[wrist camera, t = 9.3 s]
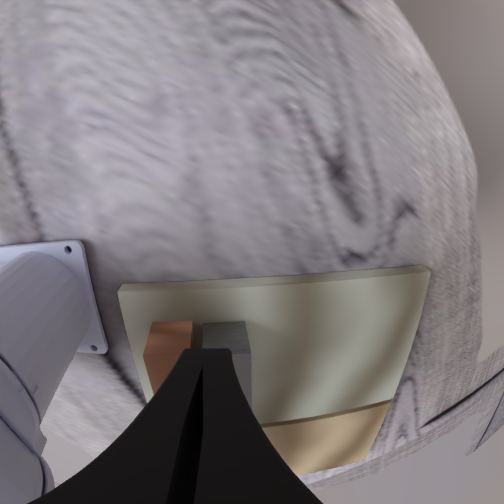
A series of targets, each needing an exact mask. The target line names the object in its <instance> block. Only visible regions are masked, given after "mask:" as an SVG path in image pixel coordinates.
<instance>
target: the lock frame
mask: <svg viewBox="0 0 504 504" xmlns="http://www.w3.org/2000/svg"><path fill="white" fill-rule="evenodd" d="M430 276H431V271H430V270H429V269H427V268H426V267H424V266H423V265H416V266H405V267H394V268H382V269H370V270H358V271H345V272H332V273H319V274H304V275H289V276H274V277H257V278H240V279H221V280H201V281H179V282H154V283H125V284H122V285H121V287H120V289H119V290H118V292H117V294H118V299H119V303H120V308H121V312H122V316H123V321H124V325H125V329H126V333H127V337H128V340H129V344H130V348H131V352H132V355H133V359H134V362H135V366H136V369H137V372H138V376H139V379H140V382H141V385H142V388H143V391H144V394H145V397H146V400H147V403H148V402H149V401H150V400H151V398H152V397H153V396H154V394H155V393H156V391H157V390H158V389H159V387H160V386H161V384H162V383H163V382H164V380H165V379H166V377H167V376H168V374H169V372H170V371H171V369H172V368H173V366H174V365H175V363H176V361H177V360H178V358H179V356H180V354H181V353H182V351H183V350H184V349H186V348H188V349H202V342H203V323H218V322H236V321H245V323H246V328H247V334H248V339H249V344H250V349H251V379H252V412H253V413H254V415H255V417H256V419H257V421H258V422H259V424H260V426H261V428H262V429H263V431H264V433H265V434H266V436H267V437H268V439H269V440H270V442H271V443H272V445H273V446H274V448H275V449H276V450H277V452H278V453H279V455H280V456H281V457H282V459H283V460H284V461H285V462H286V464H287V465H288V466H289V467H290V469H291V470H292V471H293V472H294V474H295V475H302V474H308V473H313V472H318V471H322V470H327V469H331V468H336V467H340V466H344V465H348V464H352V463H355V462H359V461H362V460H365V458H366V456H367V454H368V452H369V450H370V448H371V446H372V444H373V442H374V440H375V438H376V436H377V434H378V432H379V430H380V428H381V425H382V423H383V421H384V419H385V416H386V414H387V412H388V409H389V407H390V405H391V401H390V400H389V399H392V398H393V397H394V395H395V392H396V390H397V387H398V384H399V382H400V379H401V376H402V374H403V371H404V368H405V365H406V362H407V359H408V356H409V353H410V350H411V347H412V344H413V341H414V338H415V334H416V331H417V327H418V324H419V320H420V317H421V313H422V309H423V305H424V302H425V297H426V293H427V289H428V285H429V280H430Z"/></svg>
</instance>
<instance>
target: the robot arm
mask: <svg viewBox="0 0 504 504" xmlns="http://www.w3.org/2000/svg"><path fill="white" fill-rule="evenodd" d="M67 246H70V247H71V249H72V252H69V251H68V249H67ZM93 345H94V346H96V347H97V348H95V347H93ZM107 350H108V344H107V340H106V337H105V334H104V330H103V327H102V323H101V319H100V316H99V312H98V308H97V304H96V300H95V296H94V292H93V287H92V283H91V278H90V274H89V269H88V264H87V259H86V253H85V248H84V245H83V243H82V242H81V241H79V240H64V241H52V242H39V243H27V244H16V245H5V246H0V504H323V503H322V502H321V501H320V500H319V499H318V498H317V497H316V496H315V495H314V494H313V493H312V492H311V491H310V490H309V489H308V488H307V487H306V486H305V484H304V483H303V482H302V481H301V480H300V479H299V478H298V477H297V476H296V475H295V474H294V472H293V471H292V470H291V469H290V467H289V466H288V465H287V464H286V462H285V461H284V460H283V459H282V457H281V456H280V455H279V453H278V452H277V450H276V449H275V448H274V446H273V445H272V443H271V442H270V440H269V439H268V437H267V436H266V434H265V433H264V431H263V429H262V428H261V426H260V424H259V422H258V421H257V419H256V417H255V415H254V413H253V412H252V410H251V408H250V406H249V404H248V401H247V399H246V397H245V395H244V393H243V391H242V388H241V386H240V383H239V381H238V378H237V375H236V372H235V368H234V365H233V360H232V351H231V350H229V349H228V348H211V349H188V348H186V349H184V350H183V351H182V353H181V354H180V356H179V358H178V360H177V361H176V363H175V365H174V366H173V368H172V369H171V371H170V372H169V374H168V376H167V377H166V379H165V380H164V382H163V383H162V384H161V386H160V387H159V389H158V390H157V391H156V393H155V394H154V396H153V397H152V398H151V400H150V401H149V402H148V404H147V405H146V406H145V407H144V408H143V410H142V411H141V412H140V413H139V415H138V416H137V417H136V418H135V419H134V421H133V422H132V423H131V424H130V425H129V426H128V427H127V429H126V430H125V431H124V432H123V433H122V434H121V435H120V436H119V437H118V438H117V439H116V440H115V441H114V442H113V443H112V444H111V445H110V446H109V447H108V448H107V449H106V450H105V451H103V452H102V453H101V454H100V455H99V456H98V457H97V458H95V459H94V460H93V461H92V462H91V463H90V464H88V465H87V466H86V467H85V468H83V469H82V470H81V471H79V472H78V473H77V474H76V475H74V476H72V477H71V478H70V479H68V480H66V481H65V482H64V483H62V484H61V485H59V486H58V487H56V488H55V485H54V479H53V475H52V472H51V469H50V468H49V465H48V464H47V462H46V461H45V460H44V458H43V457H41V454H42V452H43V449H44V446H45V444H46V441H47V439H46V437H45V436H44V435H43V433H42V432H41V430H40V424H41V422H42V420H43V417H44V415H45V413H46V411H47V409H48V406H49V404H50V402H51V400H52V398H53V396H54V394H55V392H56V390H57V388H58V386H59V384H60V382H61V380H62V378H63V376H64V374H65V372H66V370H67V368H68V366H69V364H70V362H71V360H72V358H73V356H74V355H75V353H76V352H77V353H95V354H105V353H106V352H107Z"/></svg>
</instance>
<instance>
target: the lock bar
mask: <svg viewBox="0 0 504 504" xmlns="http://www.w3.org/2000/svg"><path fill="white" fill-rule="evenodd" d="M211 348H228V349H229V350H231V351H232V360H233V365H234V368H235V372H236V375H237V378H238V381H239V383H240V386H241V388H242V391H243V393H244V395H245V397H246V399H247V401H248V404H249V406H250V408H251V410H252V379H251V349H250V344H249V339H248V334H247V328H246V323H245V321H236V322H218V323H203V342H202V349H211Z"/></svg>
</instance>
